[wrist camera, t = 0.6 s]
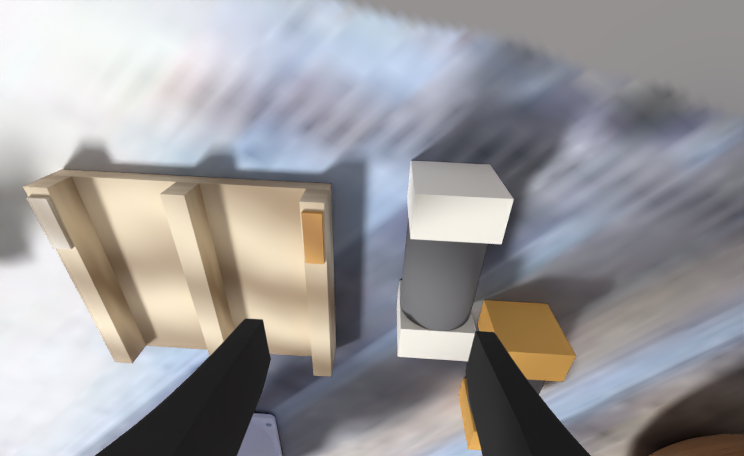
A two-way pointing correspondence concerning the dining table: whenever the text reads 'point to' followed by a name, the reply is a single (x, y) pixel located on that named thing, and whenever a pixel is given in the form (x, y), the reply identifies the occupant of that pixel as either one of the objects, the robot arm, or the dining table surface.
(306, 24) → the dining table surface
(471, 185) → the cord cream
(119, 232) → the rack
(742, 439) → the bowl
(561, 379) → the yellow dumbbell
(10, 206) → the dining table surface
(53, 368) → the dining table surface
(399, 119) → the dining table surface
